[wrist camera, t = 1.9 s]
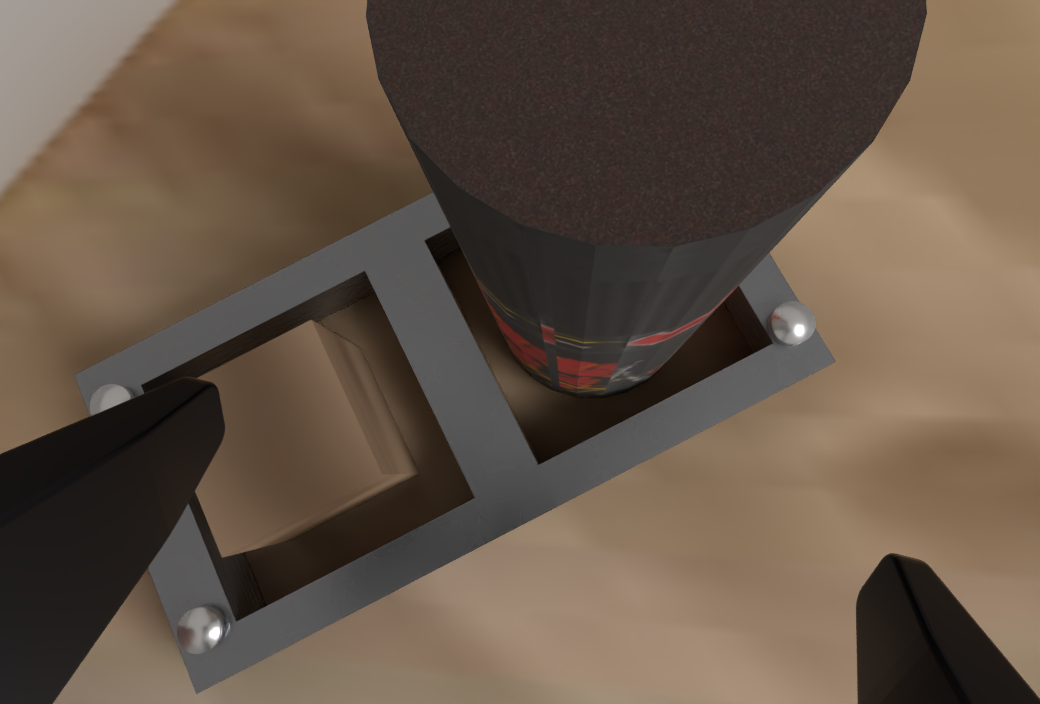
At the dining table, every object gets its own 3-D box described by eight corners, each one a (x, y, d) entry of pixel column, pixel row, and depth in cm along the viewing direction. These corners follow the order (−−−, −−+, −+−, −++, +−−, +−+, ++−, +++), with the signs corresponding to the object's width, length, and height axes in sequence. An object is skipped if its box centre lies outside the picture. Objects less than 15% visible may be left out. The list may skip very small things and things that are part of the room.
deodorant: (491, 228, 23) (353, -212, 8) (672, 208, 22) (872, -286, 8) (507, 406, 22) (380, 278, 7) (696, 388, 21) (979, 214, 7)
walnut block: (292, 539, 22) (222, 557, 17) (238, 412, 22) (157, 398, 18) (420, 473, 22) (382, 474, 17) (361, 348, 23) (311, 319, 18)
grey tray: (230, 672, 21) (188, 698, 19) (116, 383, 23) (64, 373, 20) (811, 371, 21) (841, 359, 19) (653, 109, 23) (662, 68, 21)
